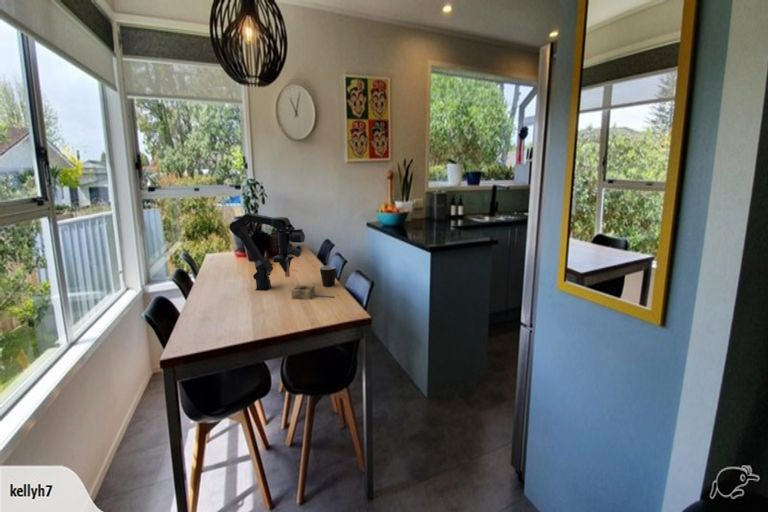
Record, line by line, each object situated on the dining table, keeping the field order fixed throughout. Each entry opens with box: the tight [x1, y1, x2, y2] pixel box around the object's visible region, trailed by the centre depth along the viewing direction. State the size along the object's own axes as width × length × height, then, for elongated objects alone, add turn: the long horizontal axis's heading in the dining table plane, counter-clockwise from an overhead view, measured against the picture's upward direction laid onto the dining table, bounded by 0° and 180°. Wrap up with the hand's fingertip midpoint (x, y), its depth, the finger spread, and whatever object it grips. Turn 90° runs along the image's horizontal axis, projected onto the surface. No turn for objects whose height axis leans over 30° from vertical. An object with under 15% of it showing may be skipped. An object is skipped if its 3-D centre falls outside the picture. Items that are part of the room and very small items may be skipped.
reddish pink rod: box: [284, 262, 291, 278], centre depth 192 cm, size 2×2×9 cm
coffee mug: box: [319, 265, 337, 288], centre depth 201 cm, size 12×9×10 cm
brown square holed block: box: [291, 284, 316, 300], centre depth 184 cm, size 9×9×4 cm
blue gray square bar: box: [312, 294, 336, 299], centre depth 183 cm, size 11×1×1 cm, turn 76°
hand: (286, 271), depth 192 cm, fingers closed on reddish pink rod, 2 cm apart
